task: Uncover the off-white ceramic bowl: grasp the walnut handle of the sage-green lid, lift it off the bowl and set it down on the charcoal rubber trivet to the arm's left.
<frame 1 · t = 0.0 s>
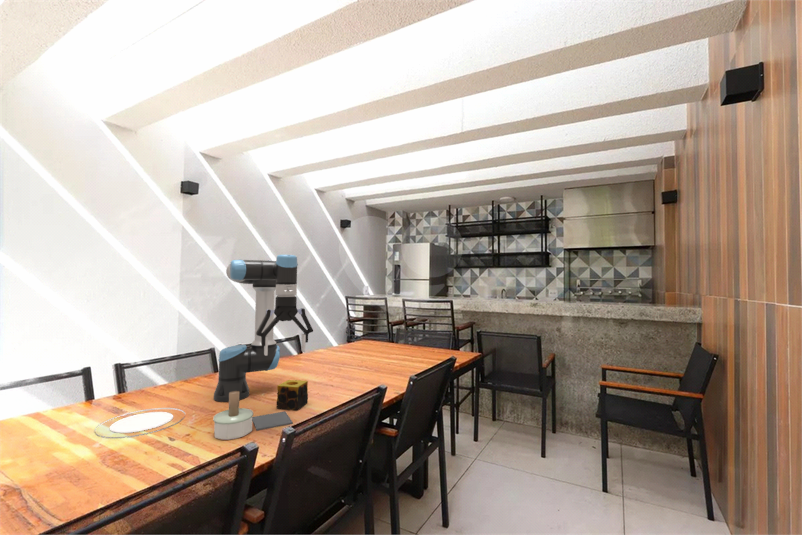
hand: (285, 353, 131), 28 cm above the table, fingers open, 13 cm apart
trivet: (271, 421, 138), on the table
plate: (142, 423, 136), on the table
lid: (233, 417, 128), point 5 cm above the table, touching bowl
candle: (292, 406, 155), on the table
bowl: (233, 432, 127), on the table
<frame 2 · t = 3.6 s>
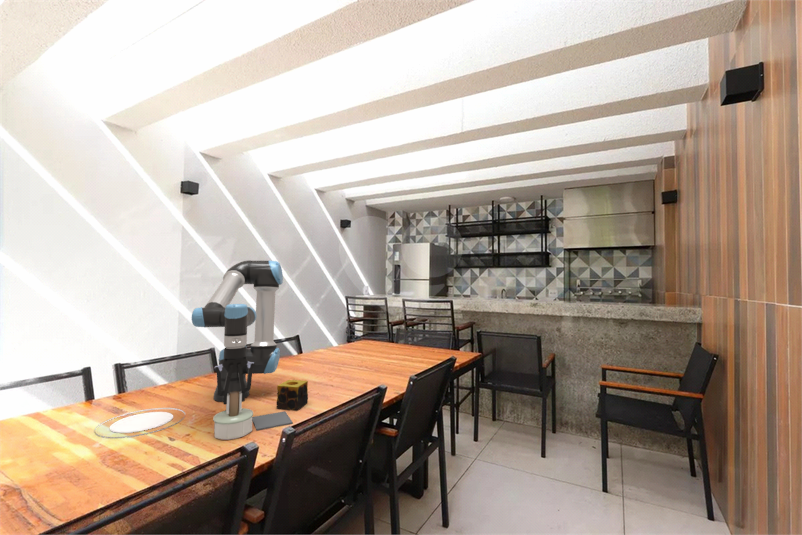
hand: (233, 411, 128), 7 cm above the table, fingers closed on lid, 3 cm apart
lid: (233, 417, 128), point 5 cm above the table, touching bowl, gripper
everything else where it was.
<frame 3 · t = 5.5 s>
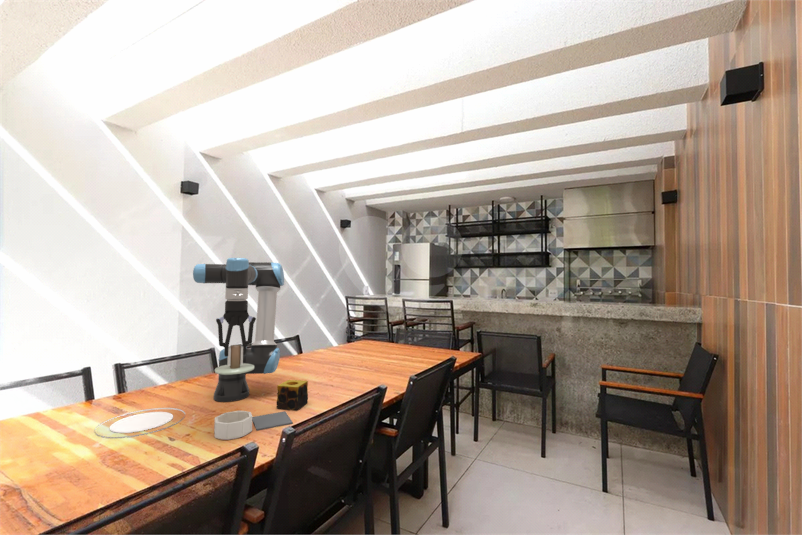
hand: (235, 364, 128), 24 cm above the table, fingers closed on lid, 3 cm apart
lid: (234, 369, 128), point 22 cm above the table, touching gripper
everything else where it was.
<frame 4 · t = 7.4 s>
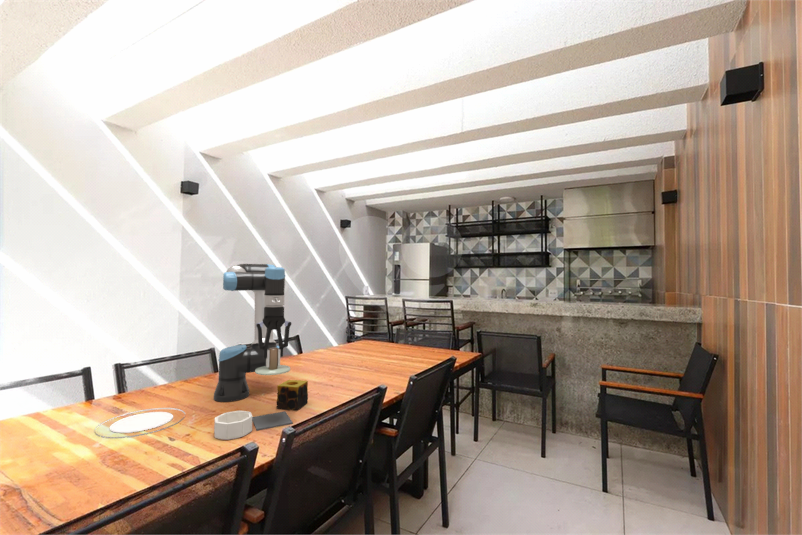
hand: (273, 365, 139), 21 cm above the table, fingers closed on lid, 3 cm apart
lid: (272, 370, 138), point 20 cm above the table, touching gripper
everything else where it was.
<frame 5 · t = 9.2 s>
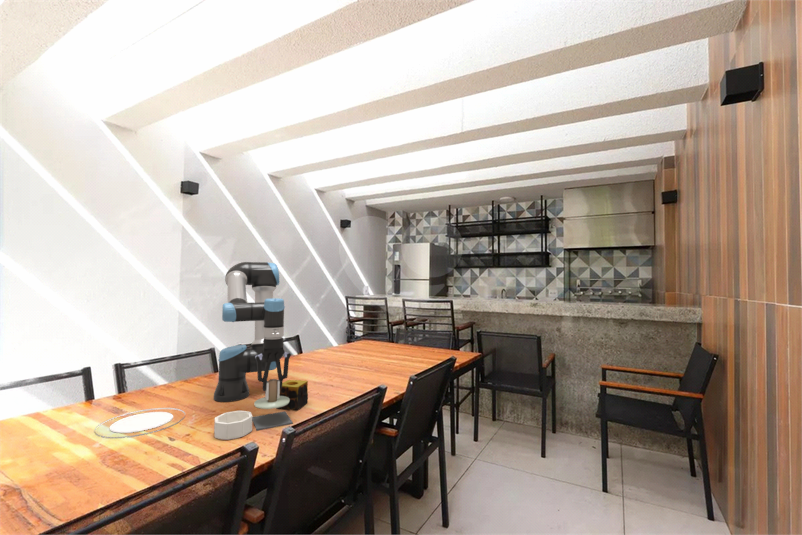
hand: (272, 397, 138), 9 cm above the table, fingers closed on lid, 3 cm apart
lid: (272, 403, 138), point 7 cm above the table, touching gripper
everything else where it was.
when the fingers open (4 cm above the table, at t = 11.0 s): lid drops 1 cm, resting on trivet.
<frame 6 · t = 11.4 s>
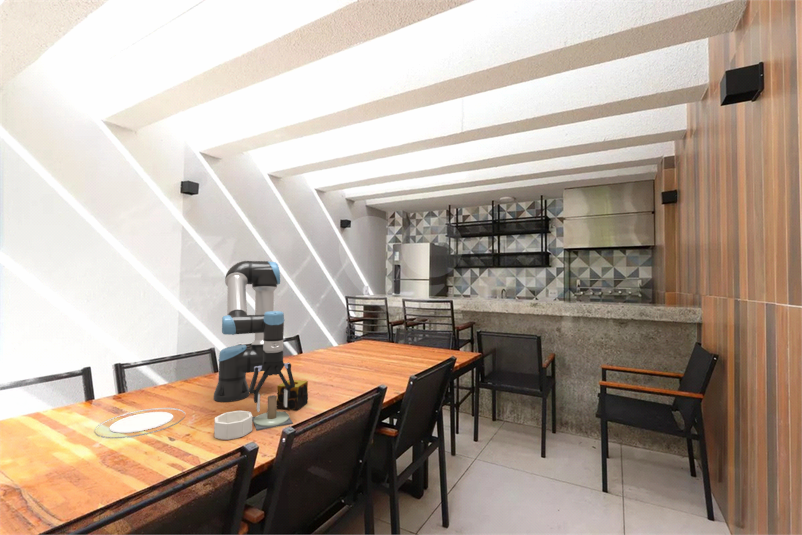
hand: (272, 408, 138), 5 cm above the table, fingers open, 9 cm apart
lid: (271, 419, 138), point 1 cm above the table, touching trivet
everything else where it was.
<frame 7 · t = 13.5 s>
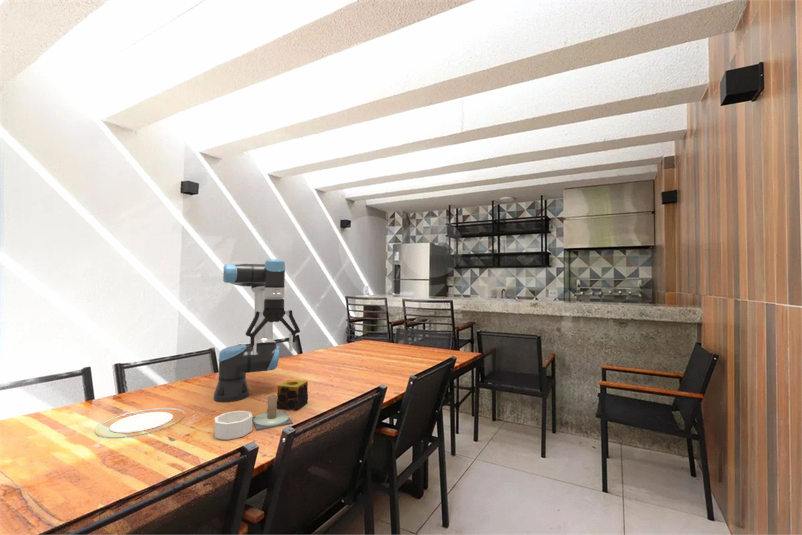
hand: (273, 352, 139), 27 cm above the table, fingers open, 13 cm apart
nothing on the table moved.
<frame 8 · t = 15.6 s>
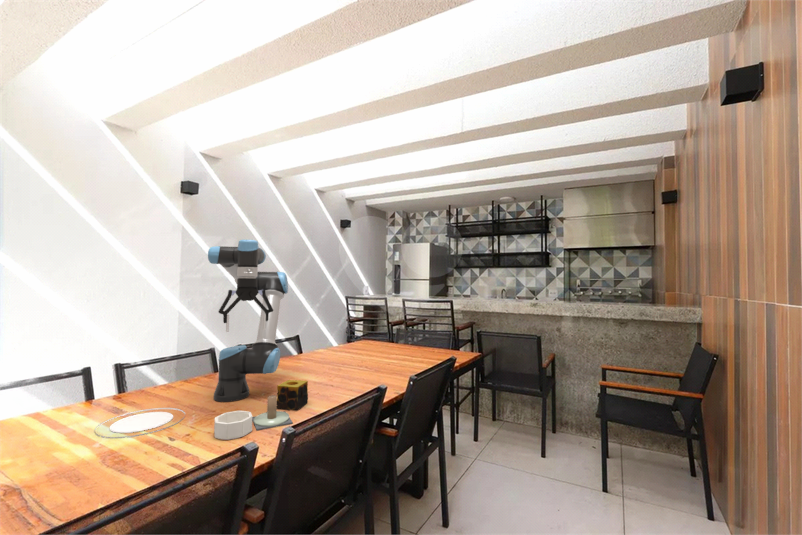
hand: (246, 330, 142), 35 cm above the table, fingers open, 13 cm apart
nothing on the table moved.
at the end: lid inside the target area on the trivet (0.0 cm from its centre), point 0.6 cm above the trivet's base; lid tilted 0°; lid touching trivet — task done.
